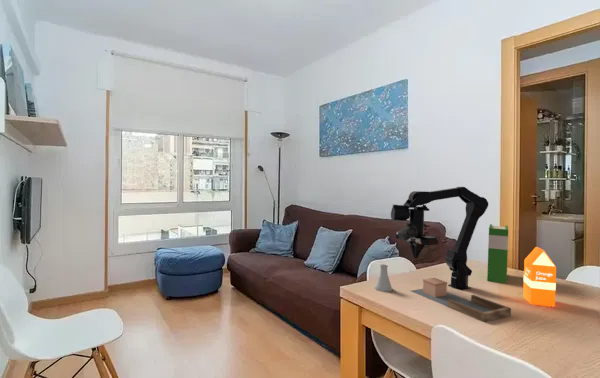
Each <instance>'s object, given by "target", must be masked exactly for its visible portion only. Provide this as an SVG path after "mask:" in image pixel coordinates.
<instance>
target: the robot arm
mask: <svg viewBox="0 0 600 378" xmlns="http://www.w3.org/2000/svg"><path fill="white" fill-rule="evenodd" d="M451 198H452V199H453V198H459V199H460V200H461V201H462V202H463V203H464V204H466V205H465V217H464V221H463V223H462V226H461V229H460V230H459V234H458V236H457V239H456V242H455V245H454V247H453V248H452V249H450V248H448V249H447V251H446V255H445V256H444V259H445V264H446V265H447V266H448V267H449V270H450V271H451V276H450V284H447V286H448V287H450V288H453V289H456V290H459V291H464V290H470V289H472V287H471V286H469V277H471V276H472V272H473V270H472V269H471V267H469V266H468V265H467V263H468V254H467V251H468V248H469V246H470V242H471V240H472V238H473V234H474V232H475V229H476V226H477V224H478V221H479V219H480V218H481V217H482V216H483V215H484V214H485V212H486V211H487V210H488V207H489V201H488V199H486V198H485V197H484V196H480V195H478V194H477V193H475V192H473V191H471V190H470V189H469V188H468V187H465V186H457V187H453V188H452V187H451V188H446V189H438V190H432V191H425V190H424V191H419V190H416V191H411V192H410V193H409V195H408V199H407V200H406V201H405V202H404V203H403V204H392V207H391V211H390V219H391V221H393V222H407V221H408V220H409V222H407V223H406V227H403V228H401V229H400V230H398V231H397V232H396V234H395V238H396V239H399V240H403V241H404V242H405V243H407V244H408V245H409V246H410V250H411V253H412V256H413V259H418V257H419V256H420V254H421V253H422V250H424V249H423V248H424V247H425V246H435V245H437V246H438V245H439V238H438V237H436V236H431V235H428V236H427V234H426V233H424V231H425V227H427V224H426V223H425V212H430V208H428V207H427V204H429V203H431V202H434V201H438V200H439V201H440V200H444V199H445V200H446V199H451Z"/></svg>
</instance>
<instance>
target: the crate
mask: <svg viewBox="0 0 600 378" xmlns="http://www.w3.org/2000/svg"><path fill="white" fill-rule="evenodd" d="M422 282H423V283H422V284H423V285H422V289H423V293H426V294H428V295H431V296H433V297H439V296H445V295H446V292H448V291H447V290H448V289H447V288H448V287H447V286H448V282H447V281H445V280H442V279H439V278H436V277H432V278H425V279H422Z"/></svg>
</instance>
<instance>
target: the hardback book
mask: <svg viewBox="0 0 600 378" xmlns="http://www.w3.org/2000/svg"><path fill="white" fill-rule="evenodd" d="M487 247H488V251H487V276H486V277H487V278H486V280H487V282H493V283H498V284H499V283H500V284H505V285H506V284H507V282H508V281H507V280H508V279H507V276H508V252H509V250H508V249H509V226H508V225H505V226H498V225H493V224H492V223H491V224H489V227H488V246H487Z"/></svg>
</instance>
